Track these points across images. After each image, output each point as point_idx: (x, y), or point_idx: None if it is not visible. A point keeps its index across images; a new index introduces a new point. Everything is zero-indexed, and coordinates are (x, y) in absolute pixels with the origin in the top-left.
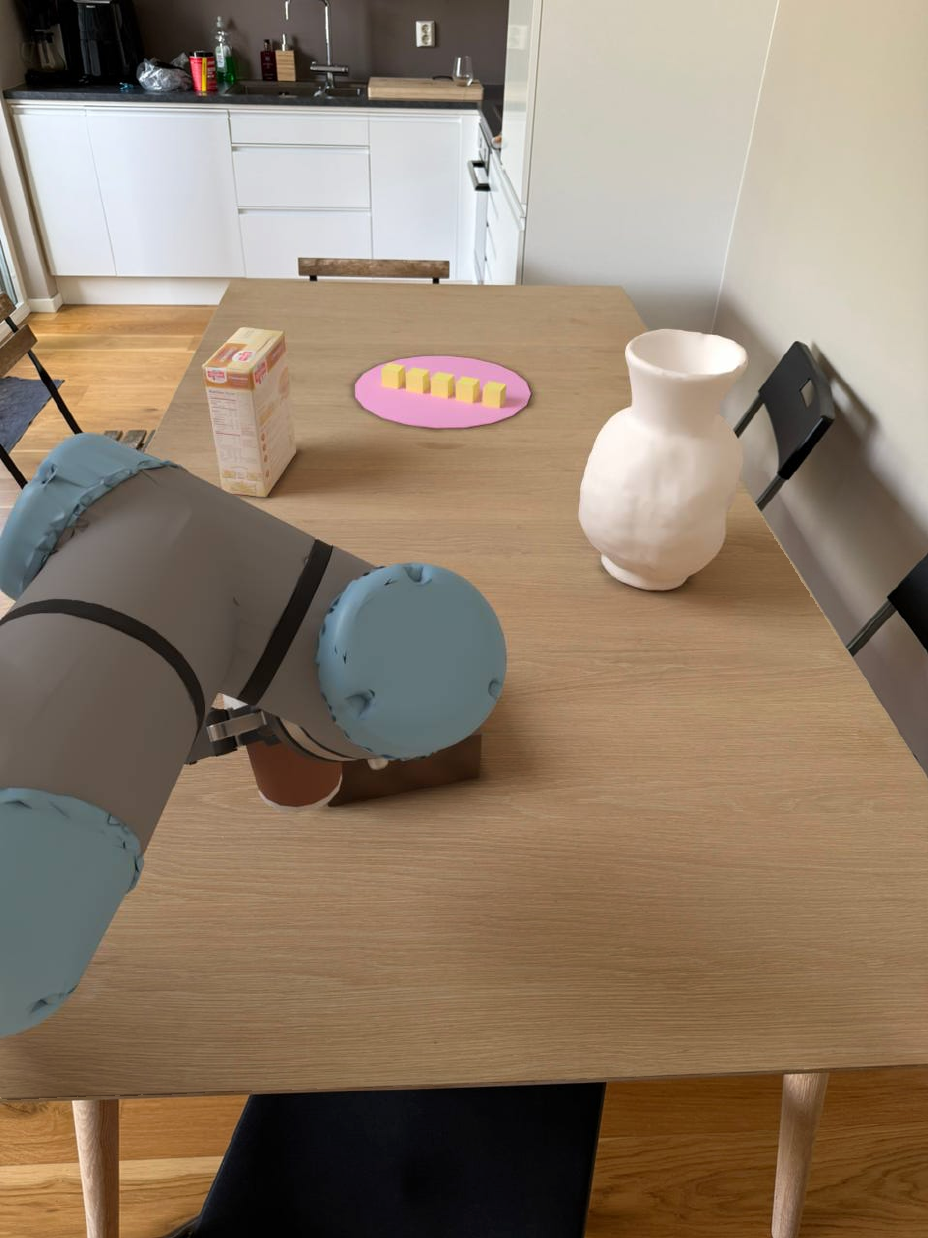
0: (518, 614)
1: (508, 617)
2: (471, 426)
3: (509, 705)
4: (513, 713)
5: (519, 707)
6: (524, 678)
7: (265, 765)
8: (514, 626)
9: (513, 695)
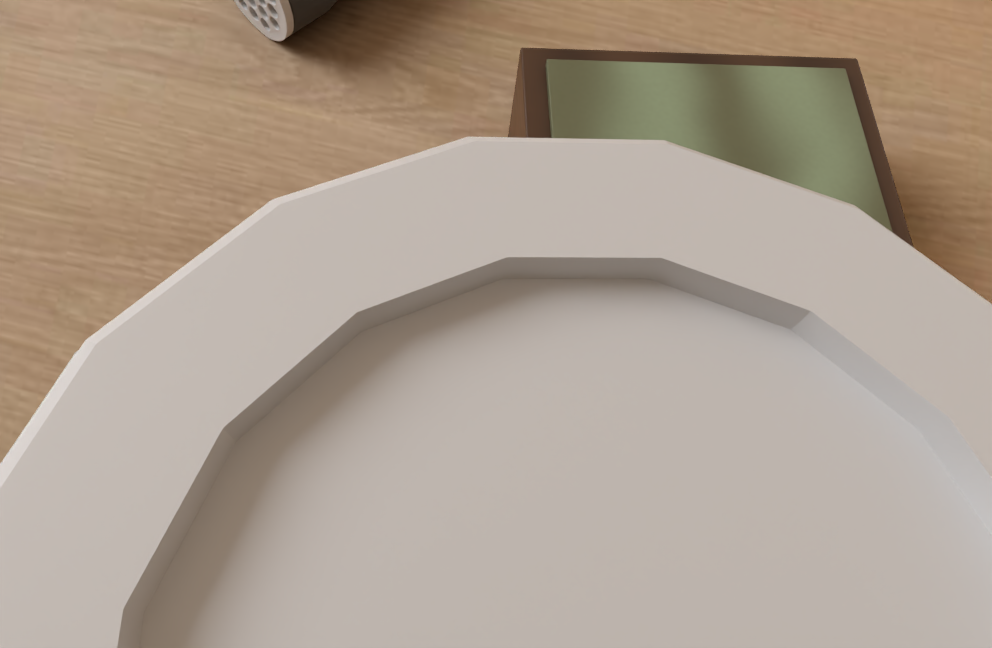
0: (968, 17)
1: (946, 20)
2: None
3: (939, 243)
4: (947, 266)
5: (961, 253)
6: (974, 180)
7: None
8: (958, 45)
9: (949, 219)
